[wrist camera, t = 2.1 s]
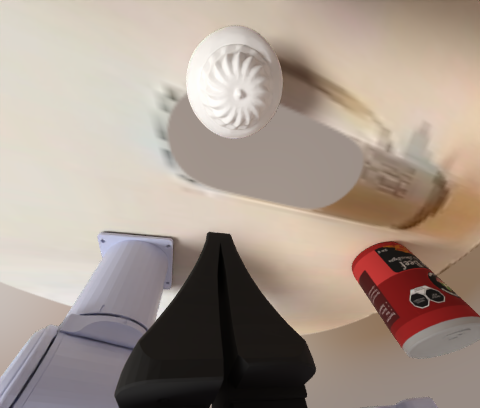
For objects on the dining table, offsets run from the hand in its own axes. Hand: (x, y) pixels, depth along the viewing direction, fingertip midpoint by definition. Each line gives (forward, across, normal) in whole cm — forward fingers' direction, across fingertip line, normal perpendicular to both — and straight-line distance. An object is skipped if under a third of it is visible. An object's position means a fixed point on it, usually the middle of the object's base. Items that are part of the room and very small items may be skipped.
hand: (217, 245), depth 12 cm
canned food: (+10, -25, +10) cm, 28 cm away
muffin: (+10, 0, -8) cm, 12 cm away
